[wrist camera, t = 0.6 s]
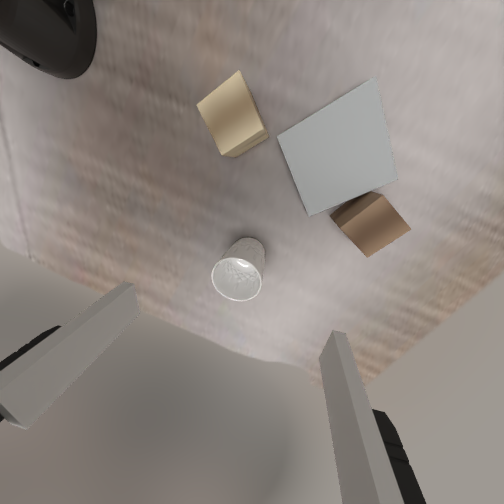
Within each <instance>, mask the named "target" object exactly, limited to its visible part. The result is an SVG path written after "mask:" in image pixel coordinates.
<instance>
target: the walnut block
mask: <svg viewBox="0 0 504 504" xmlns="http://www.w3.org/2000/svg"><path fill="white" fill-rule="evenodd" d="M330 217H331V218H332V219H333V221H334V222H335V223H336V224H337V225H338V227H339V228H340V229H341V230H342V231H343V232H344V233H345V234H346V235H347V236H348V237H349V239H350V240H351V241H352V242H353V243H354V244H355V245H356V246H357V247H358V248H359V249H360V250H361V251H362V253H363V254H364V255H365V256H366V257H367V258H368V257H369V256H371V255H372V254H374V253H375V252H377V251H378V250H380V249H382V248H383V247H385V246H386V245H388V244H389V243H391V242H392V241H394V240H396V239H397V238H399V237H400V236H402V235H403V234H405V233H406V232H408V231H410V230H411V228H410V227H409V226H408V224H407V223H406V222H405V221H404V220H403V218H402V217H401V216H400V215H399V214H398V212H397V211H396V210H395V209H394V208H393V206H392V205H391V204H390V203H389V202H388V200H387V199H386V198H385V197H384V196H383V195H381V194H378V193H375V192H371V191H369V192H367V193H365V194H362V195H360V196H358V197H355V198H353V199H350V200H348V201H347V202H346V203H344V204H343V205H342V206H341V207H340V208H338V209H337V210H336V211H335V212H333V213H332V214H331V215H330Z"/></svg>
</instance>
